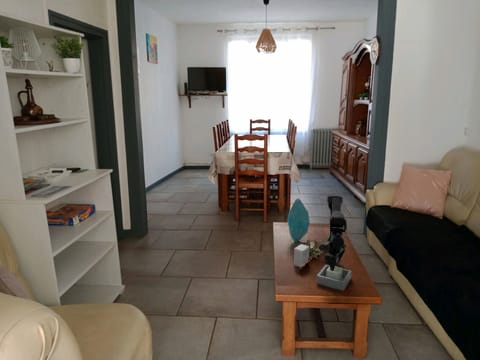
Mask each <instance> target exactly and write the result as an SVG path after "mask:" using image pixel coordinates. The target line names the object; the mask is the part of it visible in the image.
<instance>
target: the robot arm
mask: <svg viewBox="0 0 480 360" xmlns="http://www.w3.org/2000/svg"><path fill="white" fill-rule="evenodd" d="M343 198H344V197H343V196H341V195H338V194H337V195H334V194H333V195H327V197H326V204H327V207H328V209H329V210H330V213H329V234H328V237H326V241H322V242H320V243H319V244H318V250H319V251H320V252H324V253H326V254H325V255H324V256H323V261H324V263H326V264H328V265H329V266H330V269H331V271H333V270H334V268H335V266H336V267H337V265H339V264H340V262H341V260H342V258H343V257H344V254H345V252H346V250H347V245H346V244H345V240H344V235H343V233H346V231H347V229H348V228H347V226H348V224H347V219H346V218H345V215H344V214H343V213H342V209H341V208H342V205H343V201H344V200H343Z"/></svg>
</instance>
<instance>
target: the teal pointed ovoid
mask: <svg viewBox="0 0 480 360" xmlns="http://www.w3.org/2000/svg"><path fill="white" fill-rule="evenodd" d="M310 222H311V221H310V215H309V211H308V209H307V207H306V206H305V205H304V204H303V202H302V200H301V199H300V197H296V198H295V200H294V201H293V204H292V206H291V208H290V210H289V212H288V218H287V224H288V231H289V235H290V237H291V239H292V241H293V243H299V242H300V241H301V240H302V239H303V237H305V236H306V234H307V233H308V232H309V226H310Z"/></svg>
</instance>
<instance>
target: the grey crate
mask: <svg viewBox="0 0 480 360" xmlns="http://www.w3.org/2000/svg"><path fill="white" fill-rule="evenodd" d="M329 267H330V266H329V264H325V265H324V266H323V268H321V270H320V271H319V272H318V274H317V275H316V284H317V285H321V286H324V287H328V288H332V289H335V290H339V291H343V292H344V291H345V289H346V288H347V286H348V284H349V282H350V281H351V279H352V270H350V269H345V268H342V279H341V280H340V281H339V280H335V279H332V278H328V277H326V273H327V269H328V268H329Z"/></svg>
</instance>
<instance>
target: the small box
mask: <svg viewBox="0 0 480 360" xmlns="http://www.w3.org/2000/svg"><path fill="white" fill-rule="evenodd" d="M308 258H309V259H310V246H308V245H305V244H302V243H301V244H299V245H297V246H296V247H295V248H293V266H295V267H298V266H299V265H302V264H303V263H304V262H305V261H306V260H307V259H308Z"/></svg>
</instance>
